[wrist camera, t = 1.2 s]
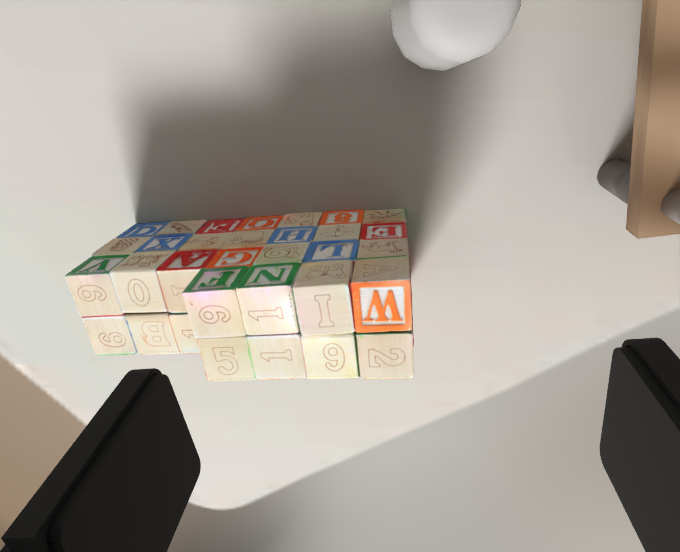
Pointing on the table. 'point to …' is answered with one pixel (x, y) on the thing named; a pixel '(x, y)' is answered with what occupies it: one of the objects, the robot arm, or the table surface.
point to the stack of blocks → (257, 294)
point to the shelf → (653, 129)
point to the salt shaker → (450, 29)
